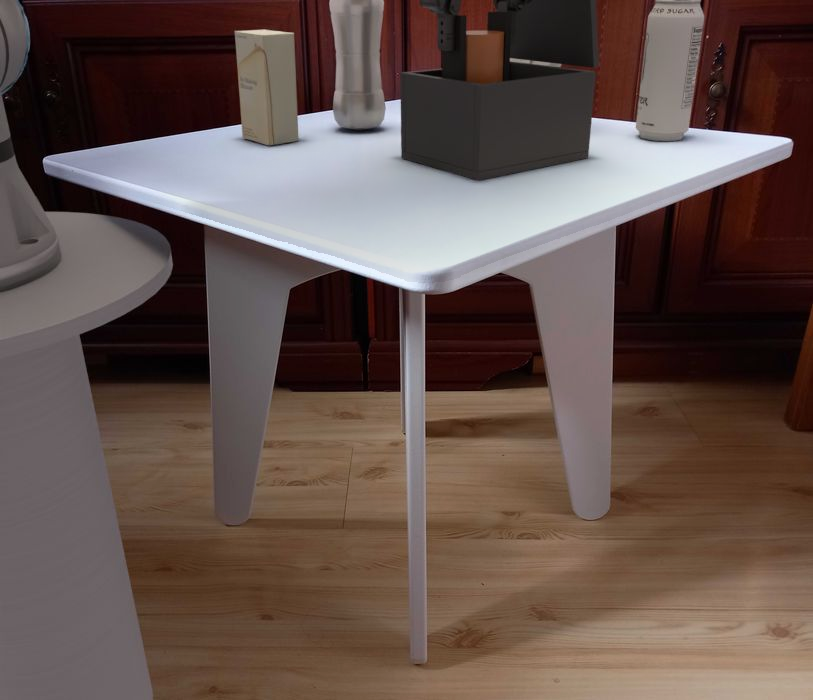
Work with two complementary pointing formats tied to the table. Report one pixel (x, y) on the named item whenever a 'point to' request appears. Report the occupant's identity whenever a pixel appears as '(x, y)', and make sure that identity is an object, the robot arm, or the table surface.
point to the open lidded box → (497, 120)
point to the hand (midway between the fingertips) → (475, 82)
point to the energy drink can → (669, 69)
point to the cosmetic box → (267, 86)
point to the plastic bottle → (358, 63)
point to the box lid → (557, 32)
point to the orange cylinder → (484, 56)
